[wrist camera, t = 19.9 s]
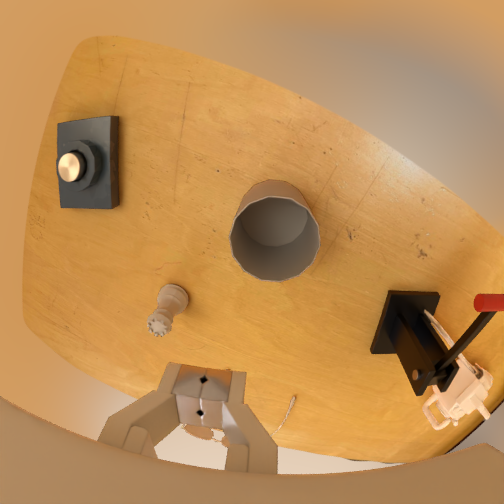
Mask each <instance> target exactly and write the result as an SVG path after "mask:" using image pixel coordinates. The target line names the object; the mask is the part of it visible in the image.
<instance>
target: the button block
mask: <svg viewBox="0 0 504 504" xmlns="http://www.w3.org/2000/svg"><path fill="white" fill-rule="evenodd" d="M118 119H119V116H104V117H96V118H89V119H82V120H75V121H69V122H63V123H58V127H57V154H58V158H57V160H56V166H57V175H58V180H59V194H60V205H61V208H89V209H113V208H115V207H117V206H118V205H119V189H118ZM72 152H80V153H81V154H83V156H84V157H85V159H86V162H87V169H86V172H85V174H84V176H83V177H82V178H80V179H78V180H75V181H72V182H67V181H65V180H63V179H62V178H61V176H60V174H59V170H58V165H59V161H60V159H61V158H62V156H63V155H65V154H67V153H72Z"/></svg>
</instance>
